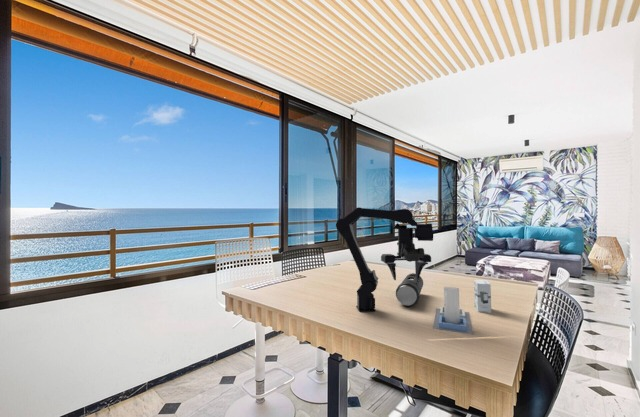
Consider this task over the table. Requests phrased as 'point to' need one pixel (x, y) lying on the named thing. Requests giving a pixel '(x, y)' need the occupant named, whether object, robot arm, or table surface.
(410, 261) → the robot arm
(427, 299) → the table surface
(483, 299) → the ink box
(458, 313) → the white piece
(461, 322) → the duct plate
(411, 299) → the black silver cylinder
